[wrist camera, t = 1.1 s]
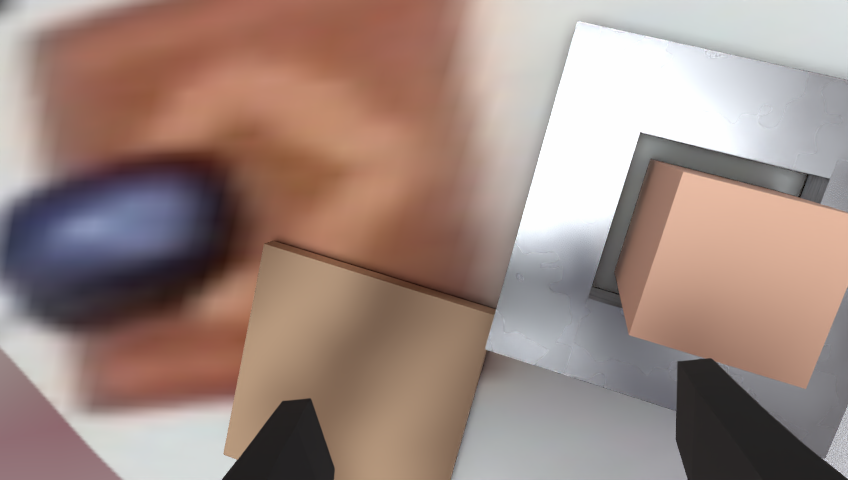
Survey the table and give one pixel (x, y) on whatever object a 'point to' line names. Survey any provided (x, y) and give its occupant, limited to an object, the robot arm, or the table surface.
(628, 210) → the table surface
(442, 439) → the walnut pad
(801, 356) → the pinkish brown rectangular block
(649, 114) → the socket plate
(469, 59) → the table surface
